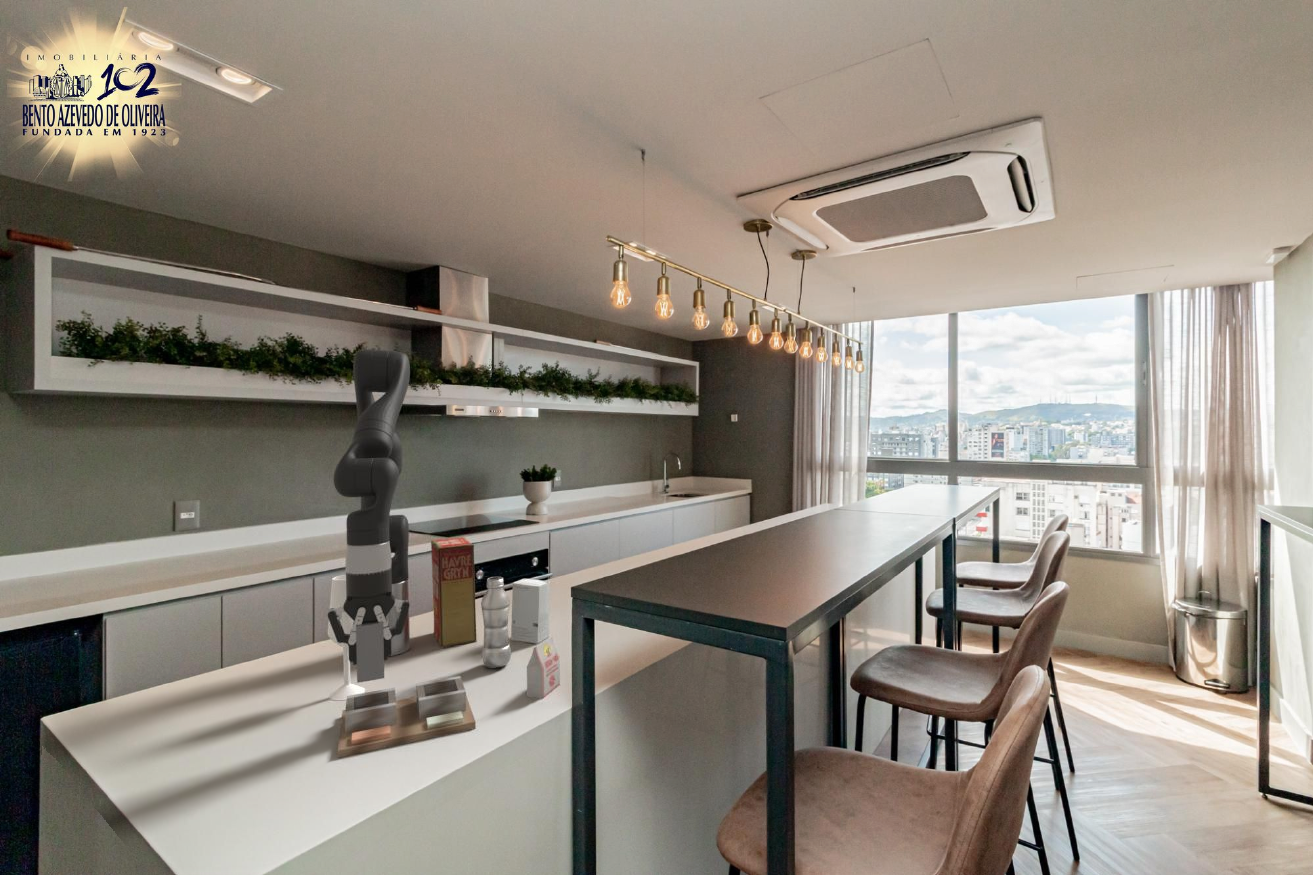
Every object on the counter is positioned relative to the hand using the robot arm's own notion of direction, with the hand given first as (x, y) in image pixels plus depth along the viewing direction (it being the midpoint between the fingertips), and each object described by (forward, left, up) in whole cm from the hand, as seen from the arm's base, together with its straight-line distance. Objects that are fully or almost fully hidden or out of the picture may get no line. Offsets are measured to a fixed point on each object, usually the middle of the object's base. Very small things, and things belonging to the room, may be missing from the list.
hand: (370, 660), depth 110 cm
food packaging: (-17, +44, -12) cm, 49 cm away
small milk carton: (+22, +23, -12) cm, 34 cm away
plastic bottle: (+5, +31, -12) cm, 34 cm away
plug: (0, 0, -3) cm, 3 cm away
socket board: (+5, +3, -12) cm, 14 cm away
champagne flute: (-16, +9, -12) cm, 22 cm away
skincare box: (+3, +49, -12) cm, 51 cm away
